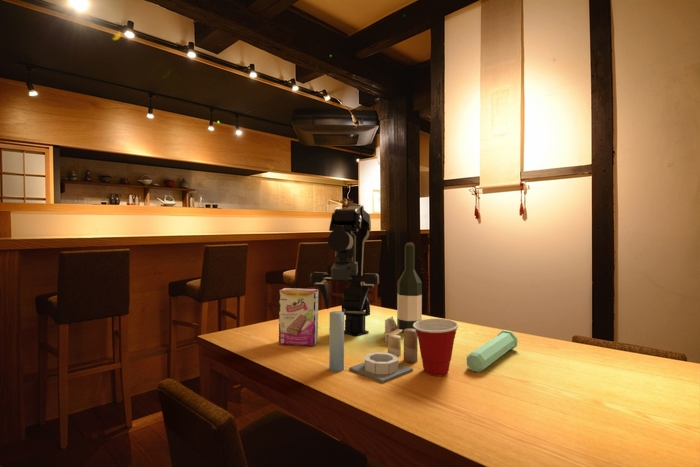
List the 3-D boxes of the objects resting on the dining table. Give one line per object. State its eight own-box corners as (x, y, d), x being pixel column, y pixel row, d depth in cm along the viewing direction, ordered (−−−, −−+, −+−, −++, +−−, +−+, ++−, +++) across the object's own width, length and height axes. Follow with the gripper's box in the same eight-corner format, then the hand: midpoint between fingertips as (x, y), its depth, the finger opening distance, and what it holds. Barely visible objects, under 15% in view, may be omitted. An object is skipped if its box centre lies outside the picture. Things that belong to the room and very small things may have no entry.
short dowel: (393, 351, 108) (393, 334, 108) (403, 354, 105) (403, 336, 105) (384, 354, 105) (385, 336, 105) (394, 357, 103) (395, 339, 103)
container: (479, 349, 91) (513, 327, 110) (458, 353, 95) (494, 332, 114) (488, 374, 90) (521, 348, 109) (466, 378, 94) (501, 351, 113)
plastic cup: (404, 366, 96) (404, 319, 96) (441, 361, 100) (441, 316, 100) (428, 383, 86) (428, 330, 86) (467, 377, 90) (468, 326, 89)
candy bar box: (278, 345, 113) (278, 290, 113) (282, 340, 118) (283, 287, 118) (315, 346, 112) (315, 291, 112) (318, 341, 117) (318, 288, 117)
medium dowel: (409, 357, 103) (409, 327, 103) (420, 360, 101) (420, 330, 100) (400, 360, 101) (401, 330, 101) (411, 364, 98) (412, 332, 98)
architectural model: (402, 341, 120) (402, 317, 120) (393, 347, 114) (393, 322, 114) (392, 339, 121) (392, 316, 121) (383, 345, 115) (383, 320, 115)
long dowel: (337, 365, 97) (337, 310, 96) (346, 369, 94) (347, 312, 94) (326, 369, 94) (326, 312, 94) (335, 373, 92) (336, 314, 91)
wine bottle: (395, 332, 128) (395, 243, 128) (399, 326, 136) (399, 242, 136) (420, 334, 126) (420, 243, 125) (422, 328, 134) (423, 242, 133)
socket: (379, 359, 101) (379, 347, 101) (412, 370, 93) (413, 358, 93) (349, 369, 94) (349, 357, 94) (382, 383, 86) (383, 369, 86)
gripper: (305, 251, 100) (303, 311, 99) (376, 252, 97) (375, 314, 96) (315, 253, 111) (313, 307, 110) (379, 254, 108) (378, 309, 107)
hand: (344, 309), depth 105 cm, fingers open, 9 cm apart
